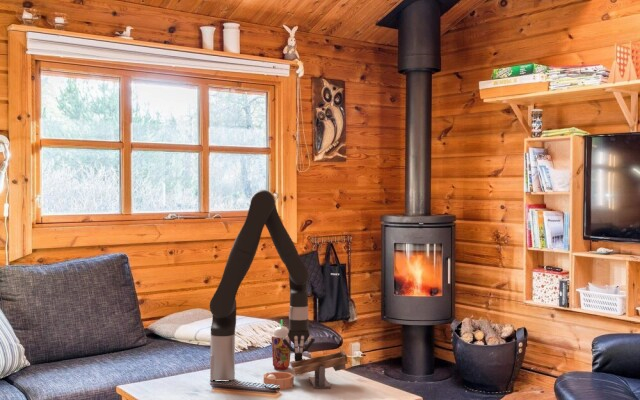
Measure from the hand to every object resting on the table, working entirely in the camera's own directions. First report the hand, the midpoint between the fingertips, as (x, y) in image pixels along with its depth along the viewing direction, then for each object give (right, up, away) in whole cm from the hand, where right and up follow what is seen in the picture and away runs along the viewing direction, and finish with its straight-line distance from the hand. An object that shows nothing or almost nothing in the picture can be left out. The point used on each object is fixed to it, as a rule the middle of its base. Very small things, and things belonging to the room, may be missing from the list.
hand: (298, 362), depth 278 cm
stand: (+8, -6, -7) cm, 13 cm away
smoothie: (-7, -6, +16) cm, 18 cm away
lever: (+8, -2, -3) cm, 9 cm away
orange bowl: (-7, -6, -10) cm, 14 cm away
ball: (-10, -4, -10) cm, 14 cm away
